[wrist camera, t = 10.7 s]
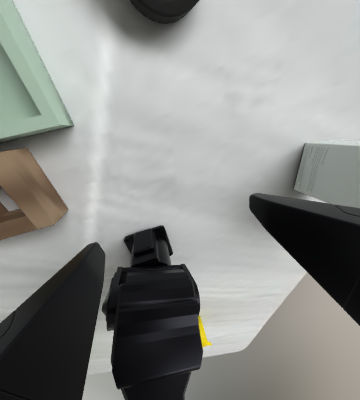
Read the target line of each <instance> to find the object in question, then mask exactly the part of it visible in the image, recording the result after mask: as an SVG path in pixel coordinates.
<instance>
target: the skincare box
mask: <svg viewBox="0 0 360 400" xmlns="http://www.w3.org/2000/svg"><path fill="white" fill-rule="evenodd" d="M294 190H296V191H298V192H301V193H303V194H306V195H309V196H311V197H314V198H317V199H319V200H322V201H324V202H327V203H329V204H333V205H342V206H349V207H357V208H360V140H349V139H333V140H325V141H317V142H309V143H305V147H304V151H303V155H302V159H301V163H300V167H299V171H298V175H297V179H296V183H295V186H294Z"/></svg>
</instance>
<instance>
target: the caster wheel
mask: <svg viewBox="0 0 360 400" xmlns="http://www.w3.org/2000/svg"><path fill="white" fill-rule="evenodd" d="M130 1H131V3H132V4H133V5H134V6H135V8H136V9H137V10H138V11H140V12H141V13H142V14H143V15H144V16H146V17H148V18H149V19H151V20H153V21H156V22H159V23H171V22H175V21H177V20H179V19H180V18H182V17H184V16H185V15H186V14H187V13H188V12H189V11H190V10H191V9H192V8H193V7H194V6H195V5H196V3H197V2H198V1H199V0H130Z"/></svg>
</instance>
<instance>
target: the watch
mask: <svg viewBox="0 0 360 400" xmlns="http://www.w3.org/2000/svg"><path fill="white" fill-rule="evenodd" d="M198 321H199V329H200V336H201V342H202V347H203V351H207V350H209V349H210V348H211V347H212V344H211V342H208V341H207V338H206V335H205V331H204V328H203V324H202V321H201V318H200V316H198Z"/></svg>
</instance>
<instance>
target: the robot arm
mask: <svg viewBox="0 0 360 400" xmlns="http://www.w3.org/2000/svg"><path fill="white" fill-rule="evenodd" d="M249 208H250V210H251V212H252V213H253V214H254V215H255V217H256V218H257V219H258V221H259V222H260V223H261V224H262V226H263V227H264V228H265V229H266V230H267V231H268V232H269V233H270V234H271V235H272V237H273V238H274V239H275V240H276V241H277V242H278V243H279V244H280V245H281V246H282V247H283V248H284V249H285V250H286V251H287V252H288V253H289V254H290V255H291V256H292V257H293V258H294V259H295V260H296V261H297V262H298V263H299V264H300V265H301V266H302V267H303V268H304V269H305V270H306V271H307V272H308V273H309V274H310V275H311V276H312V277H313V278H314V279H315V280H316V281H317V282H318V283H319V285H320V286H321V287H322V288H323V289H324V290H326V292H327V293H328V294H329V295H330V296H331V297H332V298H333V299H334V300H335V301H336V302H337V303H338V304H339V305H340V306H341V307H342V308H343V309H344V310H345V311H346V312H347V313H348V314H349V315H350V316H351V317H352V318H353V319H354V320H355V321H356V322H357V323H358V324H359V326H360V208H357V207H349V206H342V205H333V204H328V203H321V202H315V201H308V200H301V199H294V198H287V197H281V196H274V195H267V194H260V193H255V194H252V195H250V197H249ZM161 228H163V229H161ZM127 239H129V240H127ZM124 242H125V244H126V245H127V247H128V249H129V251H130V253H131V263H130V267H127V268H123V267H118V269H117V273H115V275H114V277H113V278H112V280H111V285H110V289H109V292H108V294H107V297H106V299H105V301H104V303H103V306H102V312H103V313H104V314H105V315H106V322H107V331H111V330H114V336H113V345H112V354H111V364H112V373H113V376H114V380H115V383H116V386H117V388H118V389H121V390H122V393H123V395H124V398H125V400H184V394H185V391H186V388H187V384H188V381H189V377H190V375H191V371H194V370H198V369H200V366H201V361H202V355H203V347H202V342H201V336H200V329H199V321H198V316H199V312H200V297H199V292H198V288H197V285H196V283H195V281H194V279H193V277H192V276H191V274H190V272H189V270H188V269H187V267H186V265H185V264H181V265H171V261H170V256H171V255H172V254H173V251H172V248H171V245H170V242H169V239H168V236H167V233H166V230H165V227H164V226H158V227H155V228H152V229H148V230H144V231H141V232H138V233H135V234H132V235H129V236H126V237H125V238H124ZM104 267H105V253H104V251H103V250H102V248H101V246H100V245H99V243H97V242H95V243H91V244H89V245H87V246H86V247H85V248H84V249H83V250H82V251H81V252H79V253H78V254H77V255H76V256H75V257H74V258H73V259H72V260H71V261H69V262H68V263H67V264H66V265H65V266H64V267H63V268H62V269H60V270H59V271H58V272H57V273H56V274H55V275H54V276H53V277H51V278H50V279H49V280H48V281H47V282H46V283H45V284H44V285H43V286H41V287H40V288H39V289H38V290H37V291H36V292H35V293H34V294H32V295H31V296H30V297H29V298H28V299H27V300H26V301H25V302H23V303H22V304H21V305H20V306H19V307H18V308H17V309H16V310H15V311H13V312H12V313H11V314H10V315H9V316H8V317H7V318H6V319H4V320H3V321H2V322H1V323H0V400H82V396H83V391H84V385H85V380H86V374H87V369H88V364H89V358H90V353H91V347H92V342H93V337H94V331H95V326H96V320H97V315H98V310H99V304H100V299H101V293H102V288H103V281H104Z"/></svg>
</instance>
